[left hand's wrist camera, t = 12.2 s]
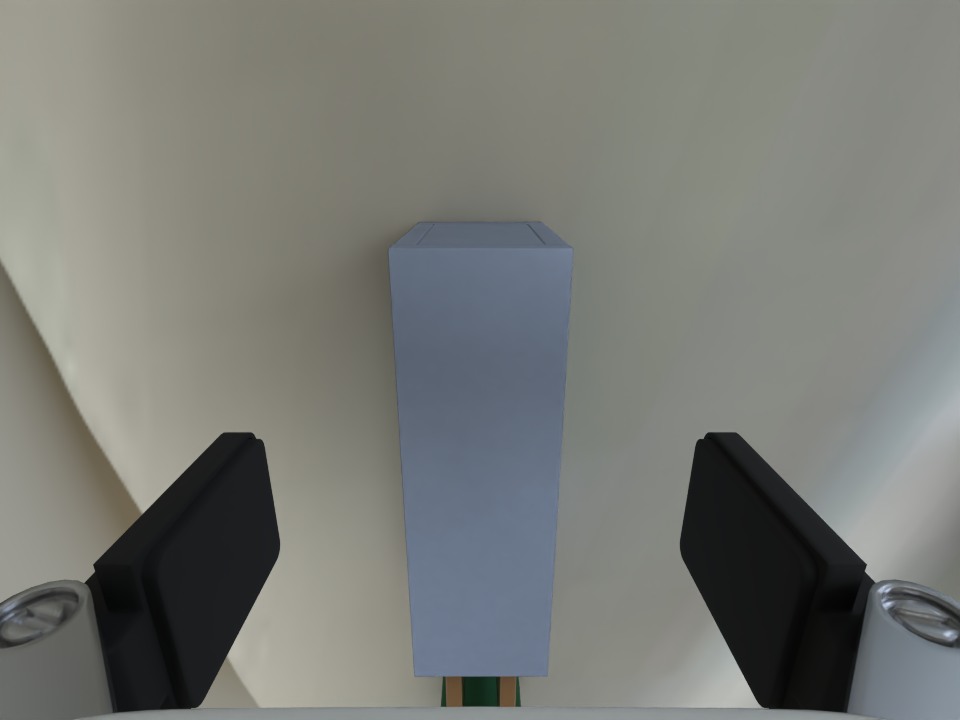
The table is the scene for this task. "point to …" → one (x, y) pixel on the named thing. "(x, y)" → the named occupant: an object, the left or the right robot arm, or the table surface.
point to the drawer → (480, 691)
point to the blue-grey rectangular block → (480, 438)
